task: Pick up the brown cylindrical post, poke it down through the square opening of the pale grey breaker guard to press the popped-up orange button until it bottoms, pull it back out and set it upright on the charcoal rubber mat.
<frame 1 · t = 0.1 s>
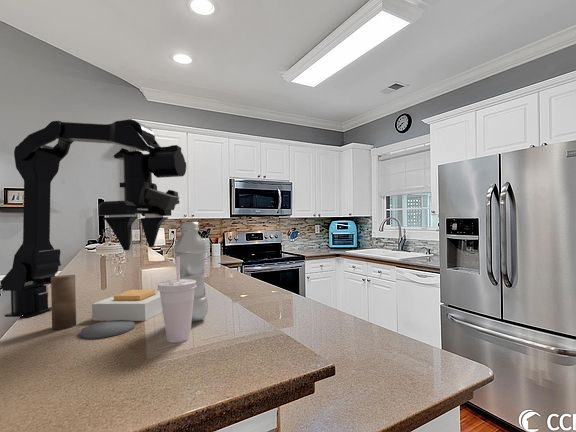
hand: (139, 248, 73), 15 cm above the table, fingers open, 9 cm apart
brown cylindrical post: (64, 326, 66), on the table
plastic bottle: (191, 321, 66), on the table
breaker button: (135, 294, 74), point 4 cm above the table, slide at 0.0 cm
slate mat: (108, 330, 62), on the table
smoothie: (178, 339, 56), on the table
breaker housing: (135, 312, 74), on the table
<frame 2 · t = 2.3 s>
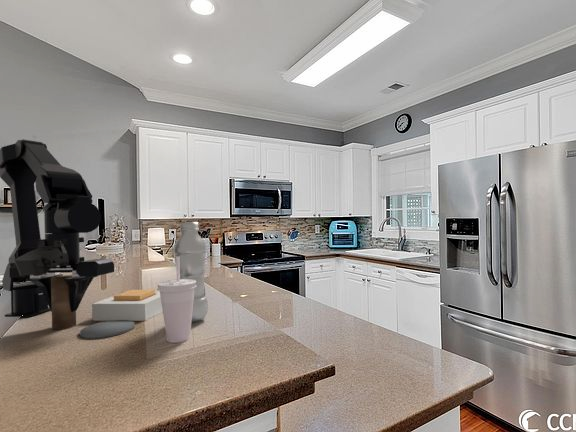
hand: (64, 311, 66), 3 cm above the table, fingers closed on brown cylindrical post, 4 cm apart
brown cylindrical post: (64, 326, 66), on the table, touching gripper
everything else where it was.
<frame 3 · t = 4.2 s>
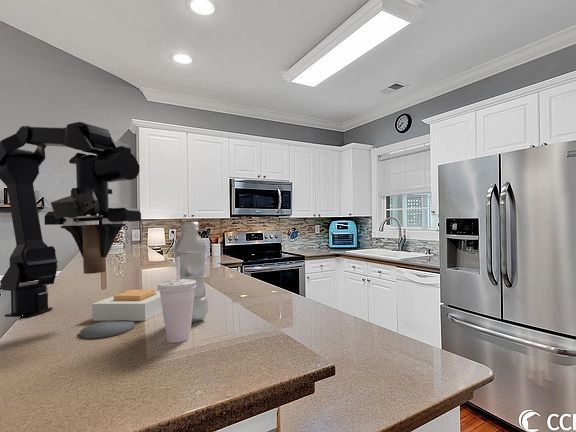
hand: (94, 257, 69), 13 cm above the table, fingers closed on brown cylindrical post, 4 cm apart
brown cylindrical post: (94, 272, 69), point 10 cm above the table, touching gripper
everything else where it was.
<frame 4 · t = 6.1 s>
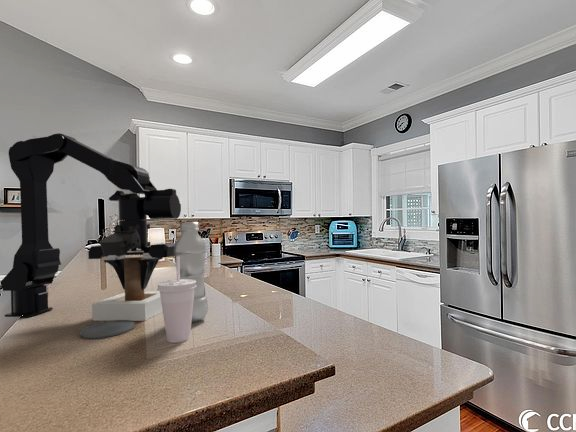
hand: (134, 289, 74), 5 cm above the table, fingers closed on brown cylindrical post, 4 cm apart
brown cylindrical post: (134, 301, 74), point 2 cm above the table, touching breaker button, gripper
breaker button: (135, 304, 74), point 2 cm above the table, slide at 2.1 cm, touching brown cylindrical post
everything else where it was.
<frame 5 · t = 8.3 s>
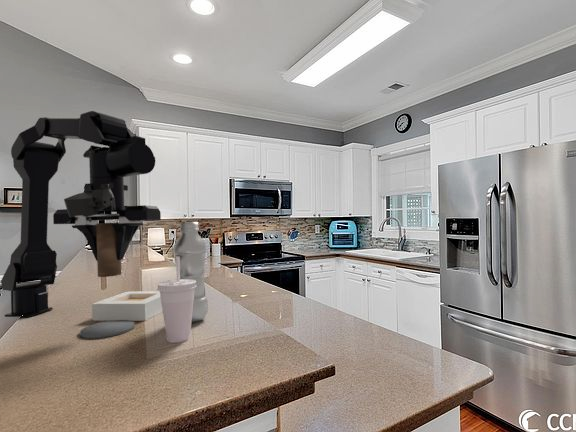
hand: (109, 260, 63), 13 cm above the table, fingers closed on brown cylindrical post, 4 cm apart
brown cylindrical post: (109, 275, 63), point 10 cm above the table, touching gripper
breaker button: (135, 304, 74), point 2 cm above the table, slide at 2.1 cm
everything else where it was.
when the fingers open (5 cm above the table, at t = 10.2 s): brown cylindrical post drops 1 cm, resting on slate mat.
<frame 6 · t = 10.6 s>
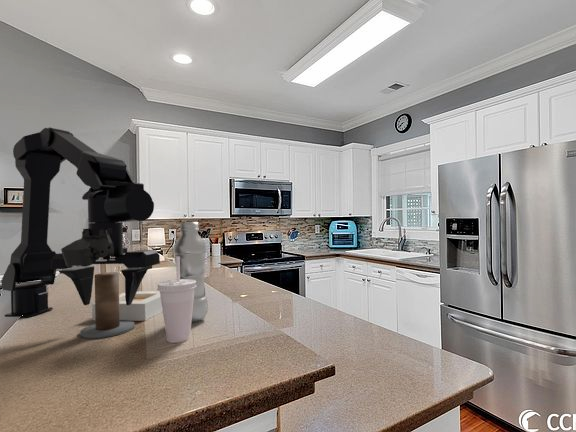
hand: (107, 304, 62), 5 cm above the table, fingers open, 8 cm apart
brown cylindrical post: (107, 326, 62), point 1 cm above the table, touching slate mat
everything else where it was.
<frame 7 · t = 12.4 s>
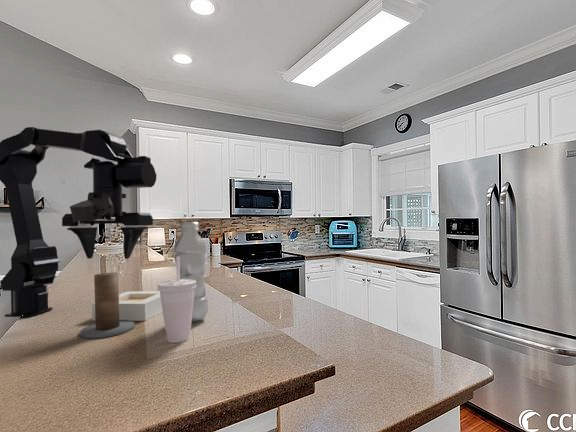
hand: (108, 258, 73), 13 cm above the table, fingers open, 9 cm apart
nothing on the table moved.
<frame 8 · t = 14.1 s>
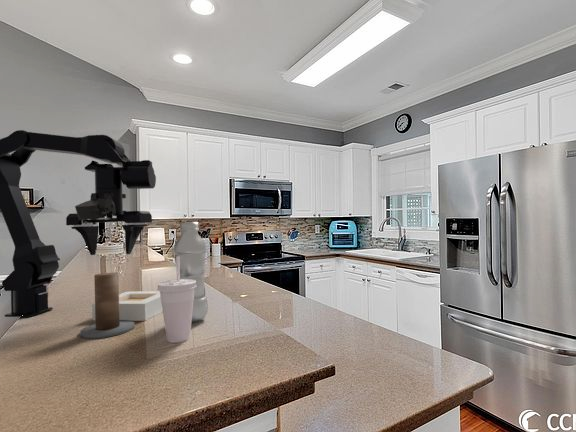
hand: (110, 254, 79), 13 cm above the table, fingers open, 9 cm apart
nothing on the table moved.
at the end: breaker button slide at 2.1 cm; brown cylindrical post 0.1 cm off-centre on the slate mat, point 0.6 cm above the slate mat's base; brown cylindrical post tilted 0° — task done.
